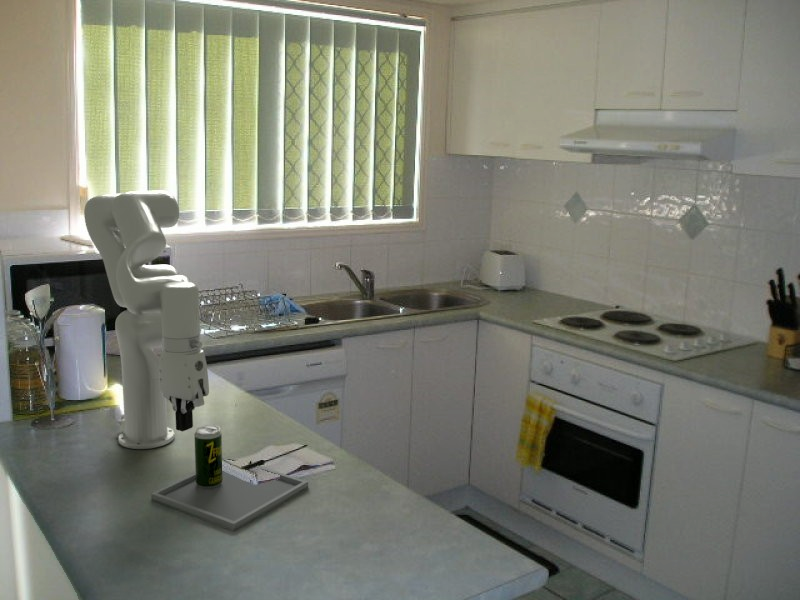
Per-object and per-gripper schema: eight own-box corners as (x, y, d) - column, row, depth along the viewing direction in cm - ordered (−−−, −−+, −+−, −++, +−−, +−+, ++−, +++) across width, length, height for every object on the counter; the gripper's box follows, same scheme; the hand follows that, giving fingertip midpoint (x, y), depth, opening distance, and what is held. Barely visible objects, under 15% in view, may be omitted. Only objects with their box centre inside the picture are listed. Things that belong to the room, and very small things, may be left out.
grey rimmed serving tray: (151, 500, 164) (151, 493, 164) (229, 463, 182) (228, 456, 182) (234, 531, 153) (234, 523, 153) (308, 488, 171) (308, 481, 171)
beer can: (190, 486, 170) (188, 430, 167) (208, 476, 174) (206, 422, 172) (210, 492, 167) (208, 436, 165) (228, 482, 172) (227, 428, 169)
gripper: (221, 345, 167) (224, 431, 171) (169, 333, 175) (172, 416, 179) (194, 353, 161) (197, 442, 165) (141, 341, 168) (145, 426, 172)
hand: (184, 428), depth 172 cm, fingers closed
